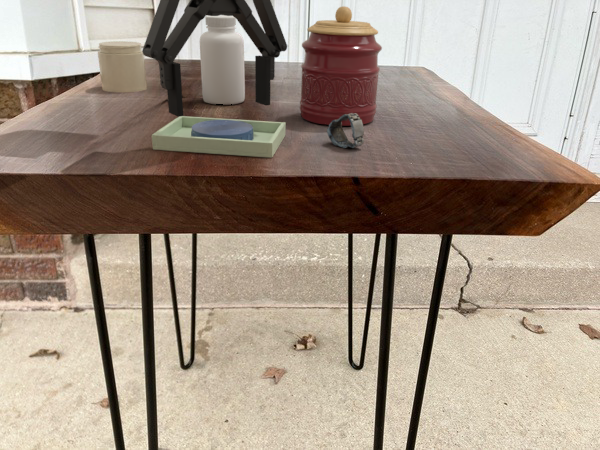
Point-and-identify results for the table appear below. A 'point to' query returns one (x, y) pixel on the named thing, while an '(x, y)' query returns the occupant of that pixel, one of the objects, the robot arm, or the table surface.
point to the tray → (180, 138)
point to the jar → (122, 67)
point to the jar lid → (223, 129)
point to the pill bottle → (222, 62)
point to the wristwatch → (339, 136)
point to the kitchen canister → (340, 70)
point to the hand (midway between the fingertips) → (221, 108)
